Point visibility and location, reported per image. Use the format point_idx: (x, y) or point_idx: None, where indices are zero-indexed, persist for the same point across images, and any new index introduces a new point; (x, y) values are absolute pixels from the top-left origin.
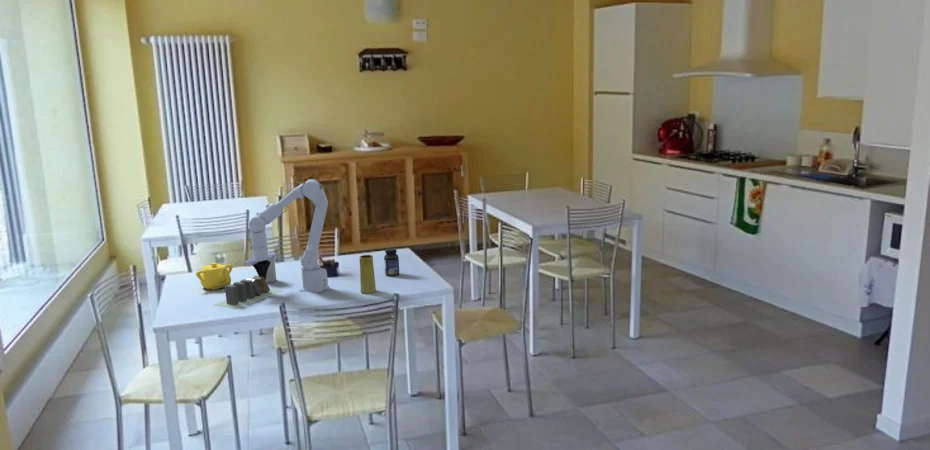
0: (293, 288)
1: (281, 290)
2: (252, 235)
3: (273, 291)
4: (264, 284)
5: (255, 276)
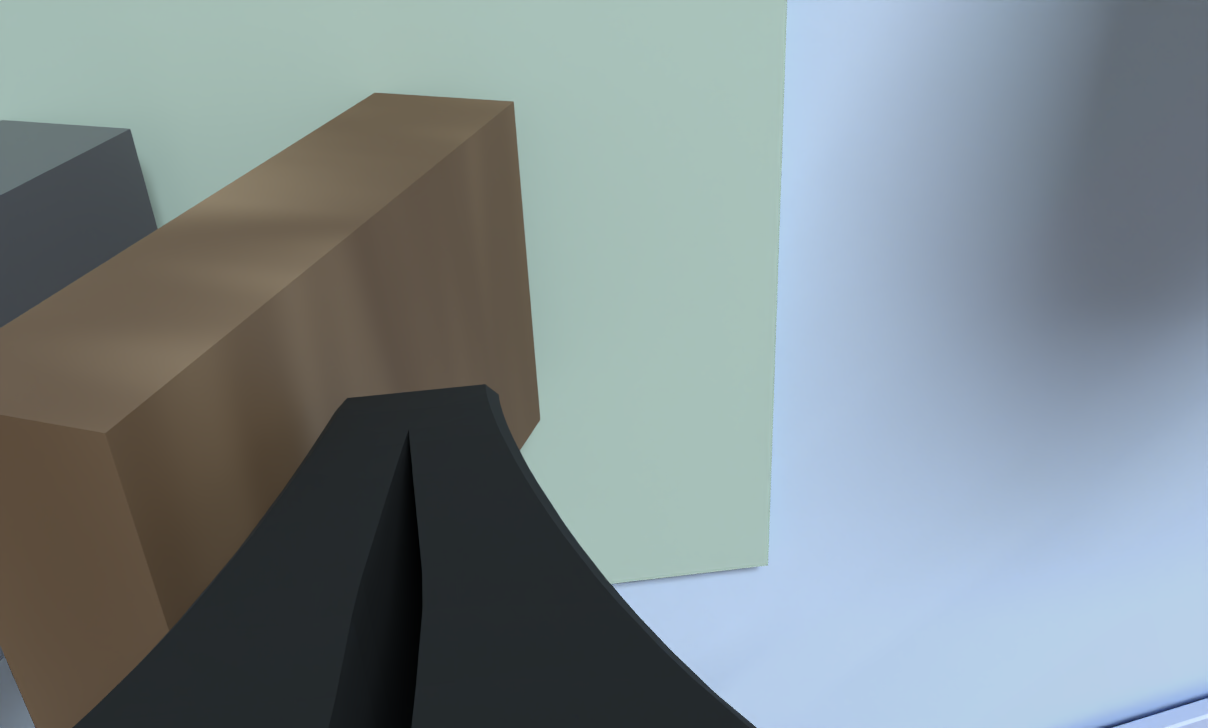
0: (1043, 554)
1: (764, 516)
2: None
3: (610, 422)
4: None
5: (66, 501)
